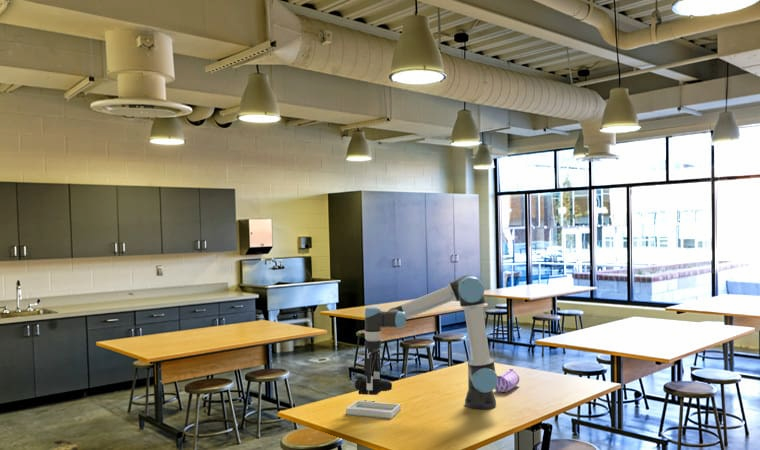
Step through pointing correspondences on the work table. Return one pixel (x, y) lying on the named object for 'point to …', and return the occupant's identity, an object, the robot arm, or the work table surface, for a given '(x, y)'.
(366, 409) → the tray
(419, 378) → the work table surface
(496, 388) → the pencil case
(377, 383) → the night vision scope
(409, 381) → the work table surface
